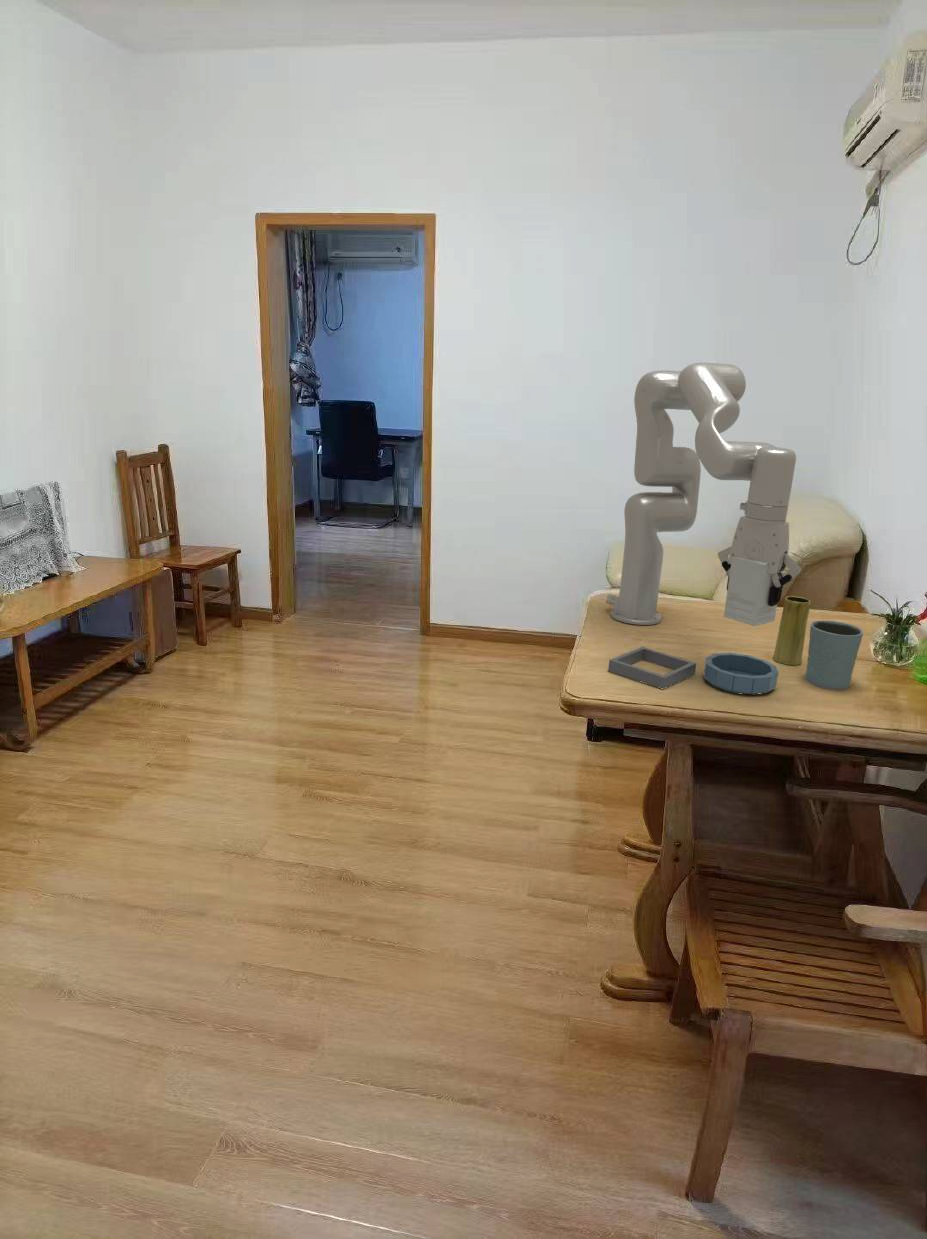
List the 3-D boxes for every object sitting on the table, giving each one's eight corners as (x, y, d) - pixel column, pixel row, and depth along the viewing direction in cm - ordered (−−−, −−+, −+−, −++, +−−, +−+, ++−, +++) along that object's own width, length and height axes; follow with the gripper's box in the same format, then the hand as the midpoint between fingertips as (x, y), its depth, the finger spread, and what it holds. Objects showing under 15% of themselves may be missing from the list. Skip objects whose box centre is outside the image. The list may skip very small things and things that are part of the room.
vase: (803, 667, 187) (815, 604, 183) (774, 663, 188) (785, 601, 184) (798, 657, 193) (810, 597, 188) (770, 654, 194) (781, 594, 189)
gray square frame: (608, 671, 178) (609, 659, 177) (641, 657, 187) (642, 646, 186) (663, 689, 170) (664, 677, 169) (694, 674, 179) (696, 663, 178)
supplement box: (775, 621, 170) (786, 560, 167) (753, 627, 166) (763, 563, 162) (744, 611, 176) (753, 551, 172) (721, 616, 172) (731, 555, 168)
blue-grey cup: (832, 694, 172) (843, 637, 169) (790, 677, 181) (800, 623, 177) (862, 686, 178) (874, 631, 174) (820, 669, 186) (830, 617, 182)
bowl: (690, 681, 175) (693, 663, 174) (722, 665, 185) (725, 648, 184) (756, 702, 166) (759, 683, 165) (785, 684, 176) (788, 666, 175)
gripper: (715, 507, 167) (703, 593, 173) (803, 522, 156) (787, 614, 162) (732, 503, 173) (720, 587, 178) (818, 518, 162) (802, 607, 167)
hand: (752, 599), depth 170 cm, fingers closed on supplement box, 8 cm apart
